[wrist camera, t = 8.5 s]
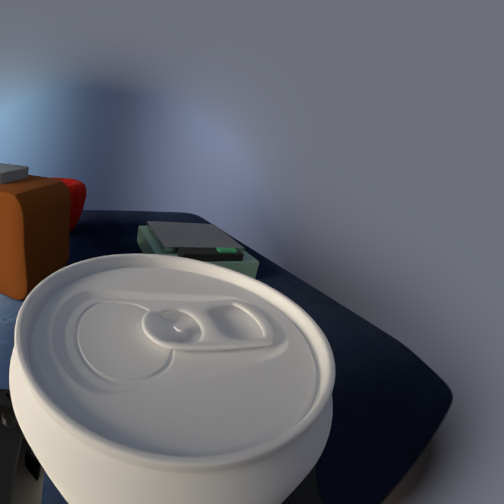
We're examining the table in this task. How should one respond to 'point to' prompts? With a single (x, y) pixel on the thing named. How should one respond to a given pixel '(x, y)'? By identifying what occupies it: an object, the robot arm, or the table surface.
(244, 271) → the scale
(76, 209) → the apple
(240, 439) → the beverage can
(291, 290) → the table surface
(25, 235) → the alarm clock
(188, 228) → the weighing plate
